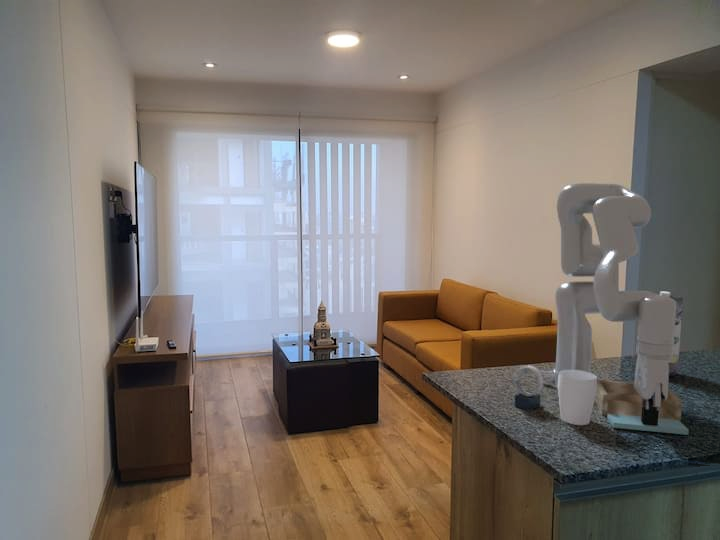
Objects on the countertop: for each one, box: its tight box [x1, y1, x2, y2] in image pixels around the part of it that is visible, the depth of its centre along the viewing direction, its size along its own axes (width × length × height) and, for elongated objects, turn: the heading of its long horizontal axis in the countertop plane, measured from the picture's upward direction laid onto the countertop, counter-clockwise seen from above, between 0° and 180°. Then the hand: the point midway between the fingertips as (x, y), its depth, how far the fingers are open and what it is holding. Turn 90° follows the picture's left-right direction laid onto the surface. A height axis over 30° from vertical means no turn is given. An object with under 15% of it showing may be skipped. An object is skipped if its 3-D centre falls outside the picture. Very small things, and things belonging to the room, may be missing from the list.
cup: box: [557, 370, 598, 426], centre depth 132 cm, size 9×9×12 cm
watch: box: [512, 364, 545, 412], centre depth 142 cm, size 6×8×11 cm
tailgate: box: [606, 413, 690, 436], centre depth 128 cm, size 16×1×7 cm
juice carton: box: [656, 290, 683, 377], centre depth 172 cm, size 9×10×27 cm
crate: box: [594, 379, 683, 422], centre depth 139 cm, size 18×12×6 cm
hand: (649, 424), depth 126 cm, fingers closed
